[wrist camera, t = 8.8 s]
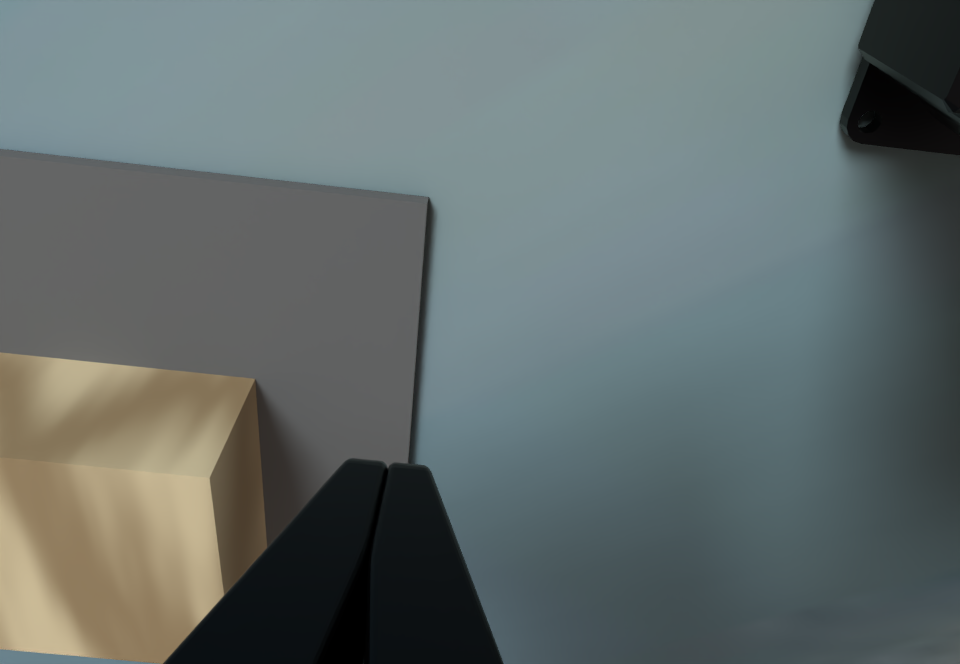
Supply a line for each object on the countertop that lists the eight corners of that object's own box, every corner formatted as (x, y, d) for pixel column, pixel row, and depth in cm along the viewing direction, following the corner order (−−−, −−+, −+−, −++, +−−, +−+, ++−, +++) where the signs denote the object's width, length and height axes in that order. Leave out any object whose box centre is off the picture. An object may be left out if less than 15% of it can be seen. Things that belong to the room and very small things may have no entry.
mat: (428, 197, 19) (427, 203, 19) (393, 666, 30) (391, 675, 30) (-187, 128, 18) (-199, 133, 18) (7, 631, 29) (1, 640, 29)
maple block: (209, 477, 18) (-213, 436, 18) (233, 669, 23) (-106, 639, 22) (255, 378, 22) (-101, 341, 21) (268, 563, 26) (-27, 535, 26)
